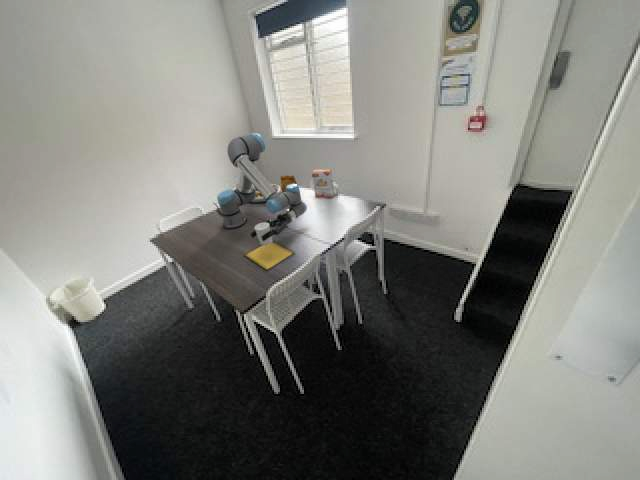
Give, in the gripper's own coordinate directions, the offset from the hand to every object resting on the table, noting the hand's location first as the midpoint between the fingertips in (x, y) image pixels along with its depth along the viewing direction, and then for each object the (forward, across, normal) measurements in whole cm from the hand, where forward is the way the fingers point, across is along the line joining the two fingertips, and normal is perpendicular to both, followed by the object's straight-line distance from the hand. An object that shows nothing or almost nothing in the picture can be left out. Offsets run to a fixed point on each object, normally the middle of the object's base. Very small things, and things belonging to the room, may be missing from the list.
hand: (257, 237), depth 135 cm
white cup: (-5, 0, -6) cm, 8 cm away
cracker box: (-83, +17, -15) cm, 86 cm away
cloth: (-5, +1, -15) cm, 15 cm away
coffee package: (-65, +34, -15) cm, 74 cm away
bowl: (-66, +68, -15) cm, 96 cm away
